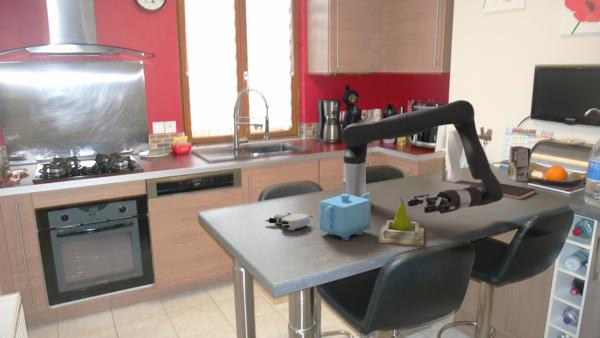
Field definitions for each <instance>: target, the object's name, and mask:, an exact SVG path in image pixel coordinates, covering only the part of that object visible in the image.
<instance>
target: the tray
mask: <svg viewBox="0 0 600 338" xmlns="http://www.w3.org/2000/svg"><path fill="white" fill-rule="evenodd" d="M392 223H393V220H391V219H387V220H386V223H385V225H384V224H382V226H381V230H380V232H379V235H378V236H379V237H378V243H381V244H382V243H383V244H395V245H396V244H398V245H408V246H410V245H411V246H424V238H425V237H424V235H425V227H420V222H419V221H411V228H410V230H409V231H399V230H394V229H393V227H392Z"/></svg>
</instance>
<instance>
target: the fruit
mask: <svg viewBox="0 0 600 338" xmlns="http://www.w3.org/2000/svg"><path fill="white" fill-rule="evenodd" d="M399 200H400V201H401V203H400V204H399V205H398V207H397V209H396V212H395V217H394V219H393V220H392V221H393V223H392V227H393V229H394V230H399V231H409V230H410V228H411V222H412V221H411V220H410V219H409V217H408V215H407V211H406V208H405V207H406V206H405V204H404V201H403V200H402V198H401V197H400V198H399Z"/></svg>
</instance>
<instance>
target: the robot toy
mask: <svg viewBox="0 0 600 338" xmlns="http://www.w3.org/2000/svg"><path fill="white" fill-rule="evenodd" d="M313 217H315V215H310V216H309V214H305V213H294V214H291V212H279V213H277V214H274V215H273V217H269V218H267V219H265V220H264V221H265V222H266V223H268V224H277V225H278V224H281V225H280V226H281V228H284V229H286V230H288V231H290V230H292V231H295V230H296V229H299V228H303V227H305V226H307V225H308V224H310V223H311V219H310V218H313Z"/></svg>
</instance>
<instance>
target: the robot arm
mask: <svg viewBox="0 0 600 338" xmlns="http://www.w3.org/2000/svg"><path fill="white" fill-rule="evenodd" d="M475 116H476V115H475V109H474V106H473V104H472V103H471V102H469V101H468V100H463V99H459V100H454V101H452V102H449V103H445V104H442V105H439V106H436V107H435V106H434V107H432V108H425V109H419V110H414V111H408V112H404V113H398V114H393V115H391V116H387V117H386V118H382V119H380V120H377V121H374V122H370V123H363V124H361V123H359V122H353V123H351V124H348V125H347V126H346V127H344V128H343V130H342V133H341V137H340V138H341V141H342V143H343V144H344V145H345V150H344V155H343V180H342V194H348V195H352V196H357V197H362V195H363V194H364V193H366V185H367V184H366V180H367V179H366V177H367V176H366V174H367V173H366V172H367V170H366V166H367V165H366V164H367V162H366V161H367V160H366V159H367V154H368V143H372V142H376V141H383V140H393V139H399V138H404V137H411V136H415V135H419V134H421V133H424V132H425V131H428V130H431V129H432V128H436V127H441V126H449V125H453V126H454V127H453V128H456V130H457V132H458V134H459V136H460V139H461V141H462V144H463V151H464V156H465V160H466V163H467V166H468V169H469V172H470V175H471V177H472V179H474V180H477V181H479V180H480V181H481V182H483V183H484V185H483V186H480V187H476V188H474V187H469V186H468V187H463V188H451V189H446V190H441V191H439V192H438V194H437V195H432V196H430V194H421V195H415V196H414V197H413V199H412V198H411V199H408V201H407V207H414V206H422V207H424V209H423V210H424V213H425V214H430V213H439V214H442V215H443V214H447V213H451V212H455V211H456V212H457V211H461V210H464V209H468V208H472V207H480V206H487V205H490V204H493V203H497V202H499V201H501V200H502V199H503V198H504V197H503V194H504V192H503V188H502V185H501V184H502V183H501V184H500V181H499V179H498V178H497V176H496V175H495V174H494V172H493V171H492V169H491V166H490V162H489V160H488V157H487V154H486V152H485V150H484V147H483V145H482V143H481V141H480V138H479V135H478V131H477V126H476V121H475Z"/></svg>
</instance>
